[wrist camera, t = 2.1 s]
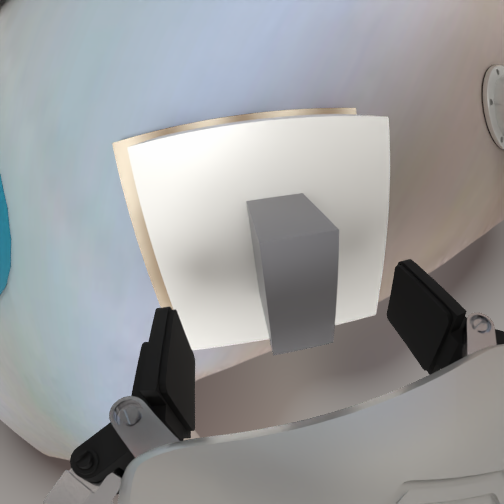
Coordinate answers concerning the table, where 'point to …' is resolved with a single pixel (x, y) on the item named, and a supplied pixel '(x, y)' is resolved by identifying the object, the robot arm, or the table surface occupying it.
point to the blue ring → (4, 241)
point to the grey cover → (268, 225)
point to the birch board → (132, 194)
